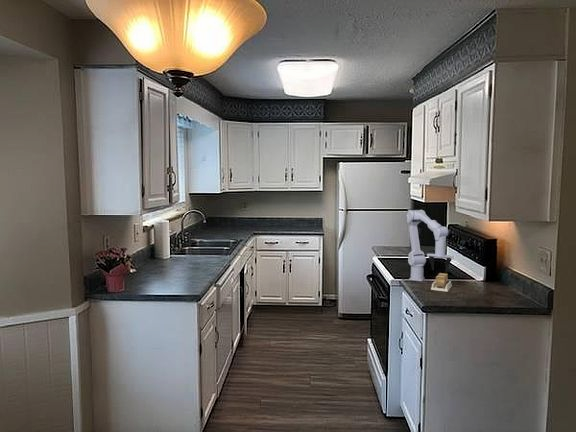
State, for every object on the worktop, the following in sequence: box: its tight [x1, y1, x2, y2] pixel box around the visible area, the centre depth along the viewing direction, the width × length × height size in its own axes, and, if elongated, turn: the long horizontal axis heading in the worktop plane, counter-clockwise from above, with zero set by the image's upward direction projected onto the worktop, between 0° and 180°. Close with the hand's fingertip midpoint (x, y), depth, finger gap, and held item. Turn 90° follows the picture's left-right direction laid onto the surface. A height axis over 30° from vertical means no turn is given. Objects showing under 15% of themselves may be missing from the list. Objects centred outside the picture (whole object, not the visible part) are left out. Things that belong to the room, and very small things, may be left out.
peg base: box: [430, 280, 453, 293], centre depth 263 cm, size 14×9×3 cm, turn 150°
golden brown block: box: [435, 272, 449, 287], centre depth 262 cm, size 12×4×5 cm, turn 151°
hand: (439, 270), depth 262 cm, fingers open, 7 cm apart
